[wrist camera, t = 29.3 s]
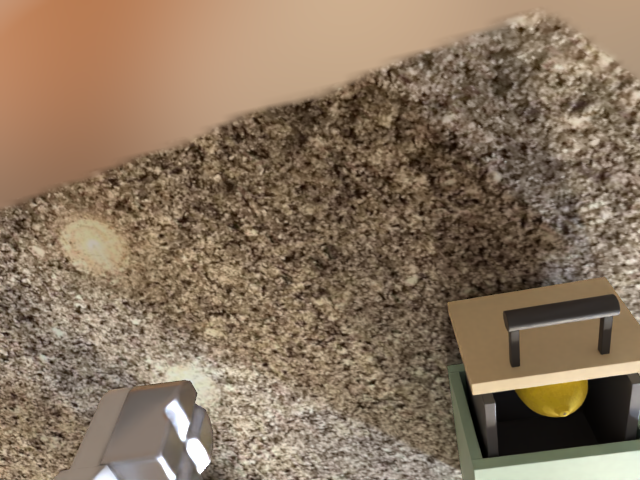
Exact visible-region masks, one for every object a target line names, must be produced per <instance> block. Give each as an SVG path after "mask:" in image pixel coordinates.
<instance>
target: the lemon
mask: <svg viewBox="0 0 640 480" xmlns="http://www.w3.org/2000/svg"><path fill="white" fill-rule="evenodd" d="M587 391H588V380H580V381H573V382H566V383H558V384H551V385H544V386H537V387H529V388H522V389H515V392H516V393H517V395H518V396H519V398H520V399H521V400H522V401H523V402H524V403H525V404H526V405H527V406H528V407H529V408H530V409H531V410H533V411H534V412H536V413H538V414H541V415H544V416H548V417H565V416H567V415H569V414H571V413H573V412H574V411H576V410H577V409H578V408H579V407H580V406H581V405H582V403H583V402H584V400H585V398H586V395H587Z"/></svg>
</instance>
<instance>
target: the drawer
mask: <svg viewBox="0 0 640 480" xmlns="http://www.w3.org/2000/svg"><path fill="white" fill-rule="evenodd" d="M448 312H449V316H450V319H451V323H452V326H453V330H454V333H455V336H456V340H457V343H458V347H459V350H460V354H461V357H462V361H463V364H464V368H465V375H466V384H467V393H468V403H469V410H470V414H471V418H472V421H473V425H474V429H475V432H476V436H477V439H478V443H479V447H480V450H481V454H482V458H483V459H484V458H492V457H500V456H509V455H517V454H525V453H533V452H541V451H549V450H557V449H565V448H573V447H582V446H590V445H598V444H606V443H614V442H622V441H630V440H636V433H637V426H638V420H639V413H640V375H639V374H638V372H640V325H639V324H638V322H637V321H636V319H635V318H634V317H633V315H632V314H631V312H630V311H629V310H628V308H627V307H626V305H625V304H624V303H623V301H622V300H621V299H620V297H619V296H618V294H617V293H616V292H615V290H614V289H613V287H612V286H611V285H610V283H609V282H608V281H607V279H606V278H605V277H601V278H595V279H588V280H582V281H576V282H570V283H564V284H557V285H551V286H545V287H539V288H532V289H526V290H520V291H514V292H508V293H501V294H495V295H489V296H483V297H476V298H470V299H464V300H458V301H451V302H448ZM580 380H588V391H587V395H586V398H585V400H584V402H583V403H582V405H581V406H580V407H579V408H578V409H577V410H576V411H574V412H573V413H571V414H569V415H567V416H565V417H548V416H544V415H541V414H538V413H536V412H534V411H533V410H531V409H530V408H529V407H528V406H527V405H526V404H525V403H524V402H523V401H522V400H521V399H520V398H519V396H518V395H517V393H516V392H515V389H522V388H529V387H537V386H544V385H551V384H558V383H566V382H573V381H580Z"/></svg>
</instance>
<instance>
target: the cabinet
mask: <svg viewBox="0 0 640 480" xmlns="http://www.w3.org/2000/svg"><path fill="white" fill-rule="evenodd" d="M447 368H448V376H449V383H450V391H451V399H452V406H453V414H454V422H455V429H456V437H457V445H458V452H459V460H460V468H461V474H462V478H463V480H640V413H639V420H638V426H637V433H636V440H630V441H622V442H614V443H606V444H598V445H590V446H582V447H573V448H565V449H557V450H549V451H541V452H533V453H525V454H517V455H509V456H500V457H492V458H484V459H483V458H482V454H481V450H480V447H479V443H478V439H477V436H476V432H475V429H474V425H473V421H472V418H471V414H470V410H469V403H468V393H467V384H466V375H465V368H464V364H457V365H450V366H447Z"/></svg>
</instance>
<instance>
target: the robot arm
mask: <svg viewBox="0 0 640 480" xmlns="http://www.w3.org/2000/svg"><path fill="white" fill-rule="evenodd" d="M196 397H197V392H196V390H195V388H194V387H193V385H192V383H191V381H186V380H182V381H174V382H166V383H158V384H150V385H142V386H134V387H131V388H123V389H114V390H109V391H108V392H107V393H105V394H104V395H103V396H102V398H101V400H100V402H99V404H98V407H97V409H96V411H95V413H94V416H93V418H92V420H91V422H90V424H89V427H88V429H87V431H86V433H85V436H84V438H83V440H82V442H81V445H80V447H79V449H78V451H77V453H76V456H75V458H74V460H73V462H72V465H71V467H70V469H69V470H64V471H61V472H60V473H58V474H57V475H56V476H55V477H54V478H53V479H52V480H203V478H202V476H201V475H200V473H201V472H202V471H203V469H204V468H205V467H206V466H207V465H208V464H209V462H210V461H211V455H212V450H213V429H212V425H211V421H210V418H209V416H208V414H207V412H206V410H205V409H204V408H202V407H200V406H198V405H197V404H195V401H196Z"/></svg>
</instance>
